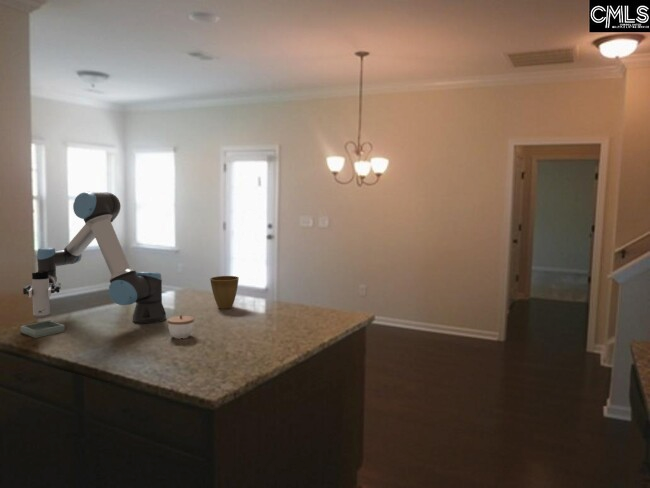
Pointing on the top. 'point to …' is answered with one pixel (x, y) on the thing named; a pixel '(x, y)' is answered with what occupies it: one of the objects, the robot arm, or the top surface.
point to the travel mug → (40, 294)
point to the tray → (42, 328)
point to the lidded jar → (180, 326)
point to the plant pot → (224, 290)
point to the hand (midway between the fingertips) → (39, 293)
